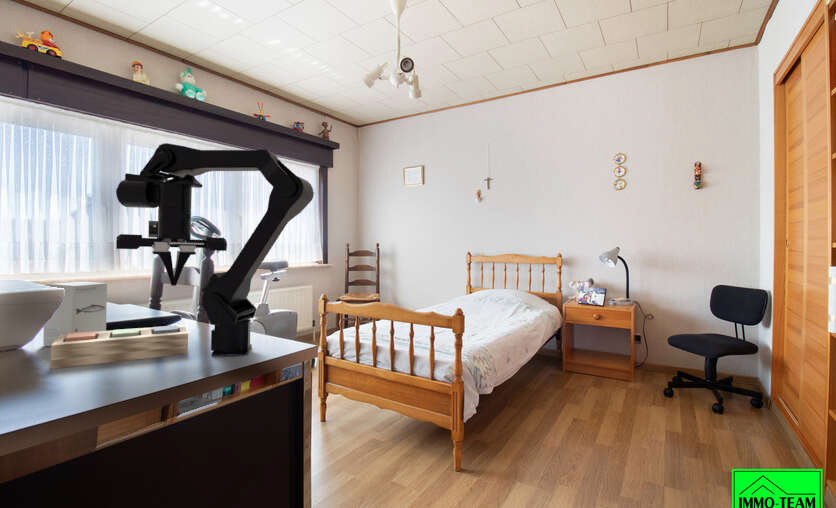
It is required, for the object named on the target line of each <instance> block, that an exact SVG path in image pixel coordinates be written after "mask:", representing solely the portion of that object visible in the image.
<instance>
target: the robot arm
mask: <svg viewBox="0 0 836 508" xmlns="http://www.w3.org/2000/svg"><path fill="white" fill-rule="evenodd" d="M209 172H260V174H262V176H263V177H264V179H265V180H266V181H267V182H268V183H269V184H270V185H271V187H272V189H271V191H270V193H269V197H268V204H267V209H266V211H265V213H264V215H263V217H262V218H261V219H260V221H259V222H258V224H257V226H256V228H255V229H254V231H253V232H252V233H251V235H250V237H249V238H248V240H247V241H246V243H245V244H244V246H243V247H242V249H241V250H240V252H239V254H238V255H237V257H236V258H235V260H234V261H233V262H232V265H230V268H229V269H228V270H227V271H225V272H224V271H223V272H217V273H216V272H215V273H212V275H211V276H210V278H209V280H208V283H207V284H206V285H205V287H204V288H201V292H202V296H201V299H200V302H201V304H202V308H203V310H204V311H205V312H206V315H207V318H208V321H209V324H210V325H211V326H214V327H213V329H212V330H211V331H210V333H211V334H210V335H211V336H210V351H212V352H211V356H213V357H214V356H238V355H239V356H241V355H242V356H243V355H248V354H249V352H250V350H251V349H252V347H253V345H252V344H251V327H252V326H251V322H252V321H251V319H253V318H255V316H256V313H257V310H258V309H257V307H256V306H255V305H254V304H253V303H252V302H251V301H250V300H249V299H248V296H249V293H250V292H251V283H252V279H253V277H254V275H255V274H256V272H257V271H258V269H259V268H260V266H261V265H262V263H263V262H264V260H265V259H266V257H267V256H268V254H269V253H270V251H271V249H272V248H273V246H274V245H275V243H276V241H277V240H278V239H279V237H280V236H281V234H282V232H283V231H284V229H285V228H286V226H287V224H289V222H290V221H291V220H293V219H294V218H295V217H297V216H298V215H299V214H301V213H302V212H303V211H304V209H305V208H307V206H308V205H309V204H310V203H311V201H313V198H314V195H315V192H314V189H313V186H312V184H311V183H310V181H308V180H306V179H304V178H302V177H300V176H298V175H296V174H295V173H294V172H293V171H292V170H291V169H290V168H288V167H287V165H285V164H284V163H283V162H282V161H281V160H280V159H279V158H278V156H277V155H276V154H275V153H273V152H272V151H270V150H268V149H265V148H262V147H261V148H257V149H198V148H197V149H196V148H193V147H189V146H185V145H179V144H174V143H168V142H167V143H164V142H163V143H161V144H159V145H158V147H157V148H156V149H155V151H154V153H153V155H152V156H151V157H150V159H149V161H147V162H146V164H145V166H144V167H143V168H142V169H141V171H140V172H139V174H135V173H127V172H126V173H125V174H124V179H123V180H120V182H119V183H118V184H117V185H118V186H117V187H116V190H115V194H116V199H117V200H118V202H119V203H120V205H122V206H123V207H125V208H136V209H137V208H139V209H142V208H144V209H157V208H158V210H157V220H148V230H147V231H148V233H147V236H148V237H143V235H142V234H129V233H128V234H124V233H123V234H122V233H121V234H119V235H117V236H116V242H115V243H116V244H115V245H116V246H115V247H116V250H138V249H140V248H141V247H144V248H145V247H147V248H151V249H153V250H152V251H151V252H152V254H153V255H158V256H159V258H160V259H161V260H160V261H162V263H163V266H164V268H165V270H166V274H167V277H168V280H169V283H170V286H172V287H173V286H175V287H176V286H177V283H178V282H179V279H180V277H181V273H182V272H183V270H184V267H185V265H186V263H187V261H188V260H189V258H190V257H191V255H196V254H197V252H196V251H195V250H196V249H205V251H206V250H207V251H213V252H214V251H216V252H217V251H218V252H219V251H223V252H224V251H225V252H227V251H228V250H227V248H228V246H227V245H228V242H227V239H225V237H215V236H214V237H213V236H211V237H208V236H203V237H202V239H192V238H191V236H192V235H191V232H192V190H193V189H192V188H194V189H195V188H196V189H200V188H201V189H202V188H203V184H202V183H201V182H199V180H197V178H196V176H201V175H202V174H205V173H209ZM171 248H178V249H179V250H177V251H176V261H175V266H174V267H175V268H173V259H172V251H170V249H171Z"/></svg>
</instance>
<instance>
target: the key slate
mask: <svg viewBox="0 0 836 508" xmlns="http://www.w3.org/2000/svg"><path fill="white" fill-rule="evenodd" d="M152 327H153V334H161V333H173V332H178V327H177V325H164V326H152Z"/></svg>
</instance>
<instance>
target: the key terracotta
mask: <svg viewBox="0 0 836 508" xmlns="http://www.w3.org/2000/svg"><path fill="white" fill-rule="evenodd" d="M90 339H97V331H93V332H80V333H69V334H68V335H67V337H66V341H78V340H90Z"/></svg>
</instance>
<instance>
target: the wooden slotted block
mask: <svg viewBox="0 0 836 508" xmlns="http://www.w3.org/2000/svg"><path fill="white" fill-rule="evenodd" d="M153 327H154V326H152V327H138V328H139V335H137V336H126V337H114V338H112V333H113V330H114V329H113V330H112V329H111V330H106V331H98V332H97V339H90V340H78V341H66V337H67V335H68V334H60V335H59V336H58V337H57V339H56V340H55V341H54V343H53V344H52V345H51V346H50V349H51V350H50V351H51V352H50V355H51V356H50V361H51V362H50V369H51V370H54V369H63V368H72V367H80V366H81V367H82V366H90V365H98V364H106V363H108V364H109V363H115V362H116V363H118V362H125V361H133V360H143V359H144V360H145V359H152V358H161V357H169V356H179V355H188V352H189V332H188V330H187V329H186V326H185V325H184V324H182V325H181V324H179V325H177V327H178V332H173V333H161V334H153Z"/></svg>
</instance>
